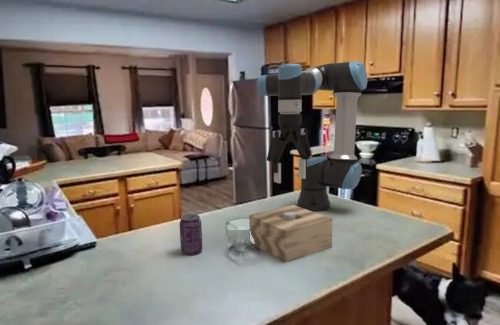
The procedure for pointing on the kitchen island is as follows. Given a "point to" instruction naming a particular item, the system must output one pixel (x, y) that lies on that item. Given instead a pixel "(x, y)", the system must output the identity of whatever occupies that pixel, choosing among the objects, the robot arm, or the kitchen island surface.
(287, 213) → the pill bottle
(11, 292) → the kitchen island surface
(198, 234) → the beverage can
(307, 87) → the robot arm
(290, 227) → the socket block
